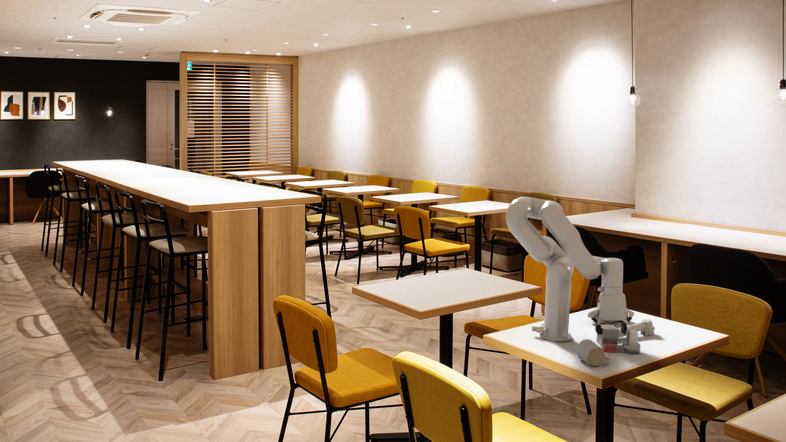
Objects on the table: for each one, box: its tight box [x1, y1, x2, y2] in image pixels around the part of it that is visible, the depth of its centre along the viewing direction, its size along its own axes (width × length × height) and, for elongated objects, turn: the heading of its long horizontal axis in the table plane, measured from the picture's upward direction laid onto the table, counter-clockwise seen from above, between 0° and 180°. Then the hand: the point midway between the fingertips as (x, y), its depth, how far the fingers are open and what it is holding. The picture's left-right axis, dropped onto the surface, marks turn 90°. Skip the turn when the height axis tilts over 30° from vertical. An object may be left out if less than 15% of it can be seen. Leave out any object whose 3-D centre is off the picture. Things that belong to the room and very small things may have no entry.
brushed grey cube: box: [595, 324, 619, 347], centre depth 233 cm, size 6×6×7 cm
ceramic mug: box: [575, 339, 611, 367], centre depth 213 cm, size 11×8×8 cm
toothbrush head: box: [616, 318, 656, 339], centre depth 244 cm, size 5×7×25 cm
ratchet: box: [600, 330, 641, 356], centre depth 226 cm, size 14×6×8 cm, turn 91°
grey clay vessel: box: [587, 307, 629, 325], centre depth 263 cm, size 16×9×15 cm
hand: (611, 333), depth 233 cm, fingers open, 9 cm apart
